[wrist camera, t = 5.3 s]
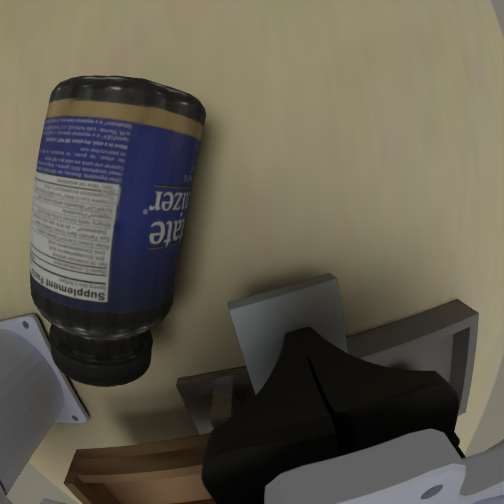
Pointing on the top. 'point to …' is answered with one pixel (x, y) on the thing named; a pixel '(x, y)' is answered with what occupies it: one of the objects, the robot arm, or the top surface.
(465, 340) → the tray
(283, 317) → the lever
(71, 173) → the pill bottle
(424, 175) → the top surface
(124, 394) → the top surface
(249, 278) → the top surface
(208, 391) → the fulcrum
